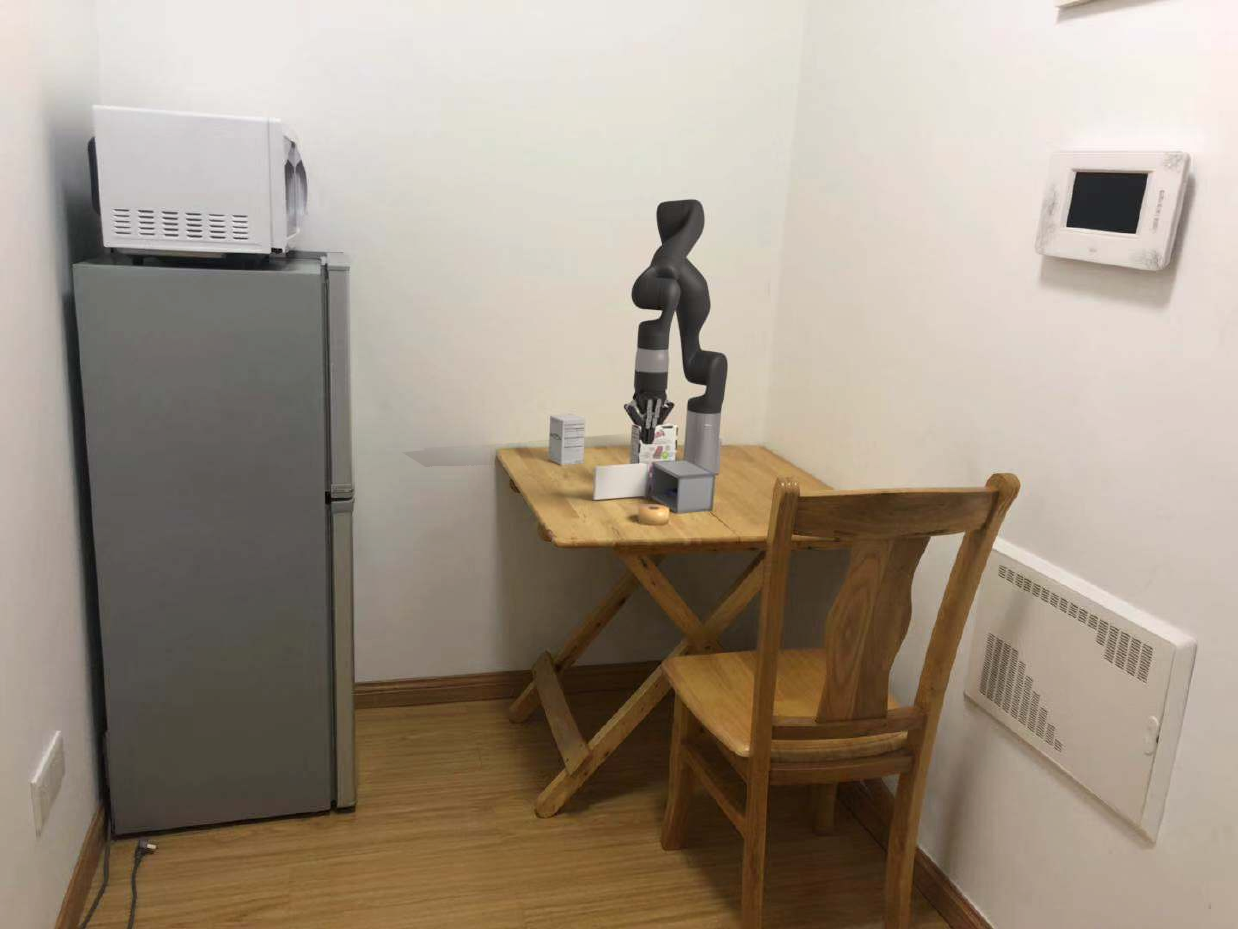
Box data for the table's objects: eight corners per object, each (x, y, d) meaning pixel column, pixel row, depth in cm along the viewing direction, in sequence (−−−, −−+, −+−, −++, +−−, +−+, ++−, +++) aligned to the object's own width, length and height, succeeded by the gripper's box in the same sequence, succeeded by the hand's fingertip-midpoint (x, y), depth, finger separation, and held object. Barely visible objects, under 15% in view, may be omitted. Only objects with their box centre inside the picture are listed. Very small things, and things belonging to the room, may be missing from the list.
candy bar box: (665, 483, 258) (669, 421, 254) (675, 488, 254) (679, 425, 250) (627, 486, 253) (631, 423, 249) (636, 491, 249) (640, 427, 245)
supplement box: (547, 459, 276) (549, 414, 273) (570, 457, 280) (572, 413, 277) (560, 465, 270) (562, 420, 267) (584, 463, 274) (586, 418, 271)
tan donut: (660, 515, 230) (661, 502, 230) (673, 524, 224) (674, 511, 223) (632, 517, 228) (633, 504, 227) (645, 526, 221) (646, 513, 221)
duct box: (683, 494, 249) (686, 459, 247) (712, 510, 237) (715, 473, 234) (650, 497, 245) (652, 461, 242) (677, 513, 233) (680, 476, 230)
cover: (646, 496, 246) (648, 462, 244) (649, 497, 244) (651, 464, 242) (592, 500, 239) (594, 466, 237) (594, 502, 238) (596, 467, 236)
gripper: (665, 364, 229) (661, 437, 233) (617, 366, 222) (613, 442, 226) (685, 369, 223) (680, 444, 227) (636, 372, 216) (632, 449, 220)
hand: (647, 443), depth 227 cm, fingers closed
